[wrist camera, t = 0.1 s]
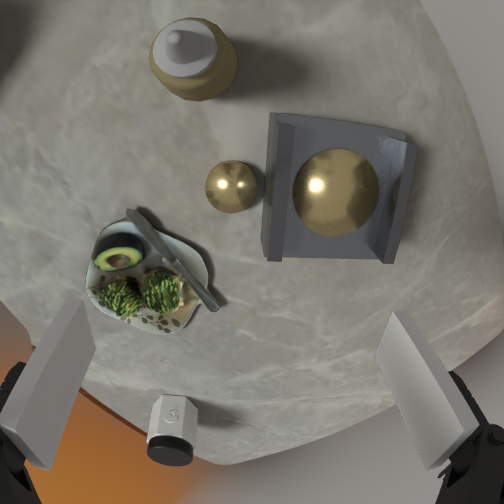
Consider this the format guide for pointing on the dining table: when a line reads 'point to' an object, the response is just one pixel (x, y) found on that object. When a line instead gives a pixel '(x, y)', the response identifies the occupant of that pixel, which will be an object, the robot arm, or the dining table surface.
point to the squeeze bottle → (193, 59)
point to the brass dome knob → (231, 186)
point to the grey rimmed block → (334, 189)
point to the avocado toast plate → (146, 276)
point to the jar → (172, 431)
